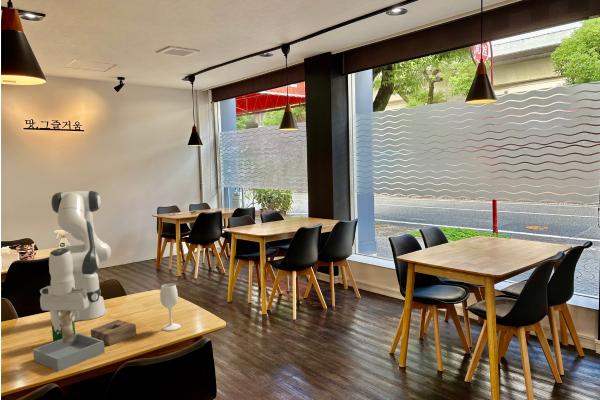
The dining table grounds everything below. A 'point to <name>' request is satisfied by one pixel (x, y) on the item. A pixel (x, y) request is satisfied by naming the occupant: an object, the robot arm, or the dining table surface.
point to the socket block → (114, 332)
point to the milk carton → (58, 327)
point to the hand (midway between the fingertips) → (66, 320)
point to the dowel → (66, 326)
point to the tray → (68, 352)
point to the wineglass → (169, 303)
